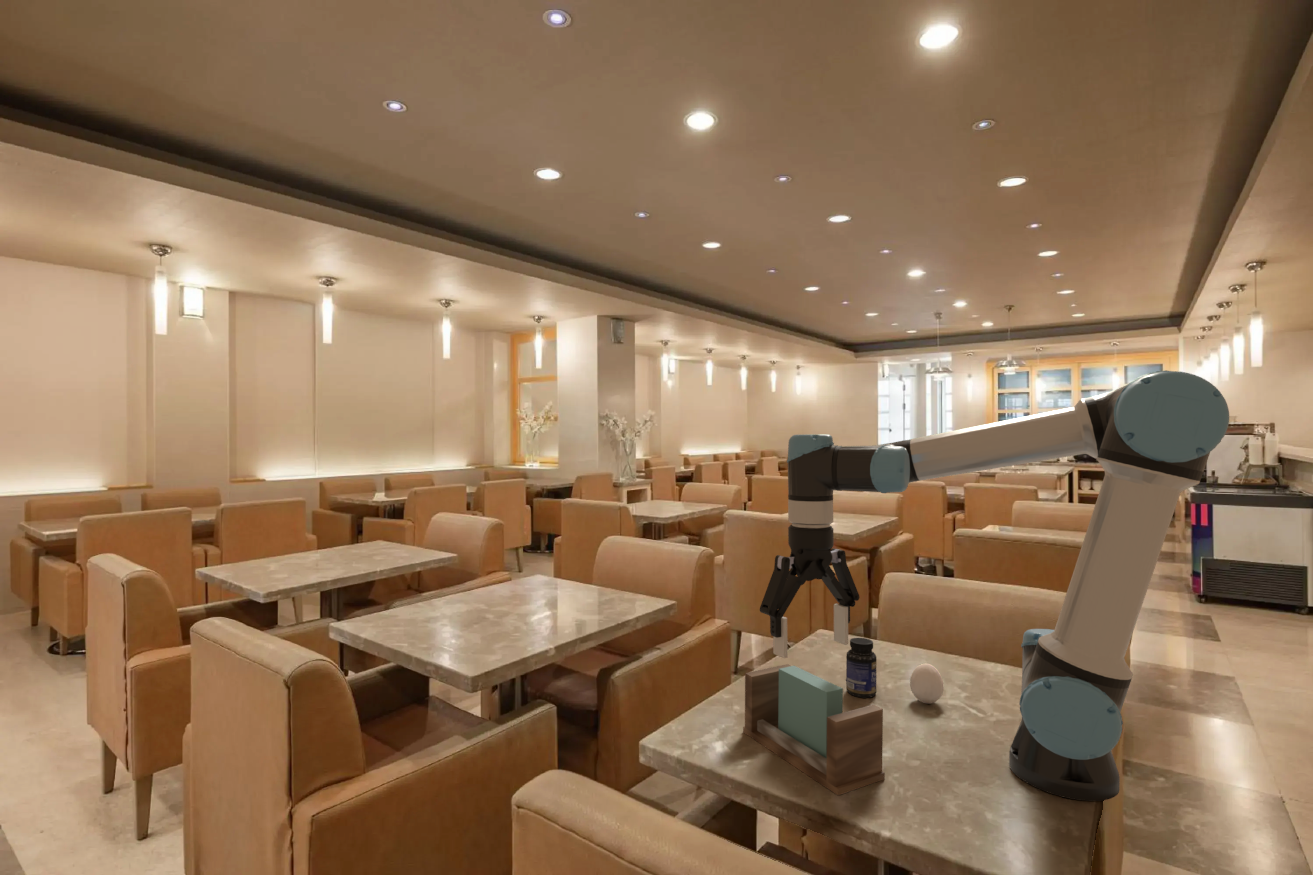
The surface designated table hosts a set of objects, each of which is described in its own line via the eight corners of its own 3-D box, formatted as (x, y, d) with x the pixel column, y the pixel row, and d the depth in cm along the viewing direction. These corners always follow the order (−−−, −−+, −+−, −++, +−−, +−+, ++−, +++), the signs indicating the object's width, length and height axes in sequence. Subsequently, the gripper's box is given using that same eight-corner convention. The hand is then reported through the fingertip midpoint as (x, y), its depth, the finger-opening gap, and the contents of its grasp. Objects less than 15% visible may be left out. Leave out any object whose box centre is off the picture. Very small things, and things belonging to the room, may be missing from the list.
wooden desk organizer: (884, 778, 106) (885, 710, 105) (838, 795, 101) (838, 723, 101) (785, 720, 127) (786, 663, 126) (743, 731, 122) (743, 672, 122)
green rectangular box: (842, 760, 109) (842, 688, 109) (826, 765, 108) (826, 692, 107) (793, 731, 120) (794, 665, 120) (778, 735, 118) (778, 668, 118)
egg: (922, 693, 140) (923, 656, 140) (950, 704, 135) (950, 665, 134) (903, 700, 136) (903, 661, 136) (930, 711, 131) (931, 671, 131)
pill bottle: (878, 699, 137) (878, 646, 137) (847, 697, 138) (847, 644, 138) (874, 688, 143) (874, 637, 143) (844, 685, 144) (845, 635, 144)
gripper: (848, 517, 123) (848, 632, 123) (738, 527, 110) (739, 654, 110) (879, 521, 116) (880, 643, 116) (766, 533, 104) (767, 668, 104)
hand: (811, 649), depth 113 cm, fingers open, 13 cm apart
